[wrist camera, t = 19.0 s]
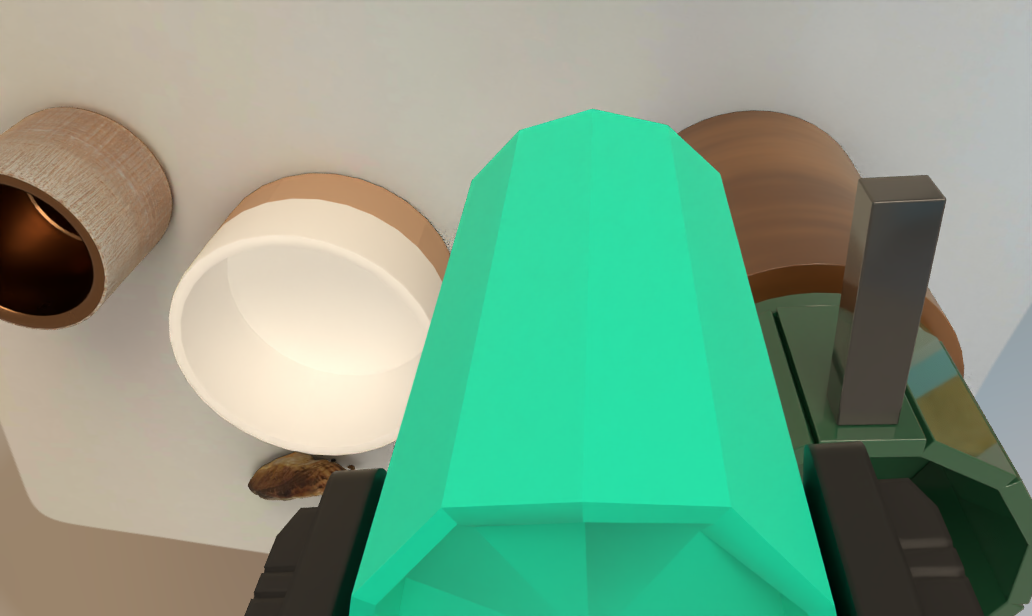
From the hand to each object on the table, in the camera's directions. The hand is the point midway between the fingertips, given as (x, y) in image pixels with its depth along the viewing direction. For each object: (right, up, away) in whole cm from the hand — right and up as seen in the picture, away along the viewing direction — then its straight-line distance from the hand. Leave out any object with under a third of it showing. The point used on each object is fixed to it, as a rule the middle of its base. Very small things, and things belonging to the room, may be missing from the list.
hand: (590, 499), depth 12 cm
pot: (+12, +1, +24) cm, 27 cm away
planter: (-29, +11, +44) cm, 54 cm away
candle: (+1, +4, +6) cm, 8 cm away
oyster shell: (-18, -10, +57) cm, 61 cm away
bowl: (-14, +5, +47) cm, 49 cm away
